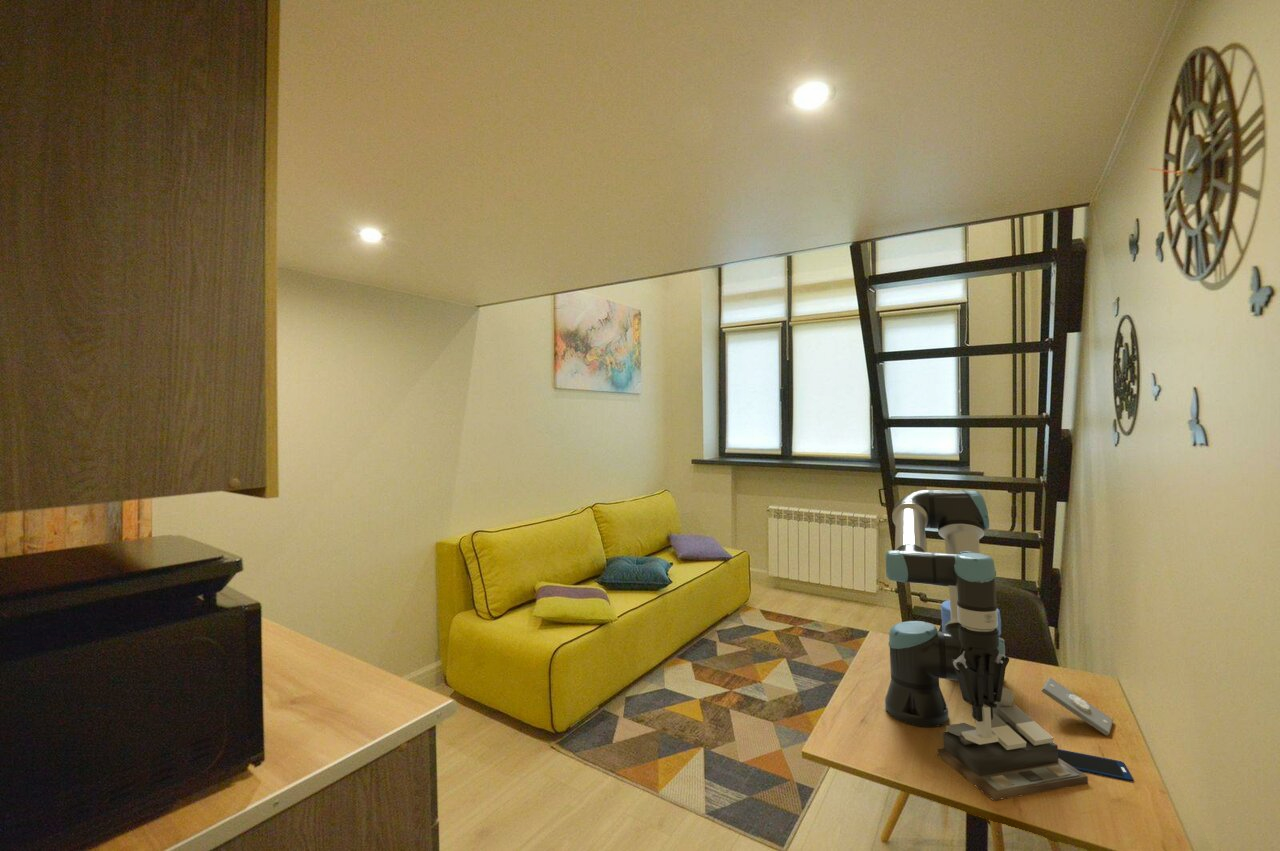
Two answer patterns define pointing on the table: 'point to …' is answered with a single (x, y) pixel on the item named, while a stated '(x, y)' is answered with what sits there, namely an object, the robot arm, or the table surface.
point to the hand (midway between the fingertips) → (983, 734)
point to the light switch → (1078, 706)
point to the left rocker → (969, 734)
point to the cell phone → (1096, 765)
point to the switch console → (1010, 767)
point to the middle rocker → (1006, 734)
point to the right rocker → (1025, 725)
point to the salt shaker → (1004, 702)
